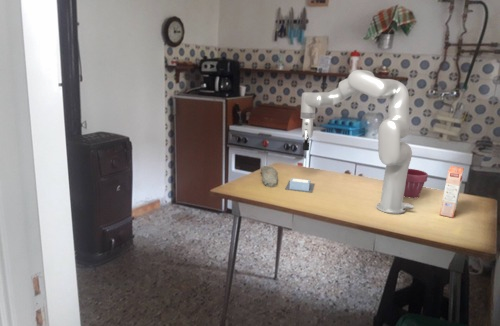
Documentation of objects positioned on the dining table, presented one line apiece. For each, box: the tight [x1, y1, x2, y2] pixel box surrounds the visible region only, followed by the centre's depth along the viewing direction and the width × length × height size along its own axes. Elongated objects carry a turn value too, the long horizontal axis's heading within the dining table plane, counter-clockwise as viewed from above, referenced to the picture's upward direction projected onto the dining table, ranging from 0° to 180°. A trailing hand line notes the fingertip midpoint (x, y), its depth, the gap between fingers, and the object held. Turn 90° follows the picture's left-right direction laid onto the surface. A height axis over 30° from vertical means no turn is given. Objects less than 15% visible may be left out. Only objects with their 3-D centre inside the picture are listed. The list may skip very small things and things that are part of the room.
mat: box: [284, 180, 316, 193], centre depth 206 cm, size 14×16×1 cm
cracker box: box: [439, 165, 465, 219], centre depth 176 cm, size 14×6×21 cm, turn 148°
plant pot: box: [404, 168, 429, 199], centre depth 200 cm, size 14×14×13 cm
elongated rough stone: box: [260, 165, 279, 188], centre depth 219 cm, size 35×5×10 cm
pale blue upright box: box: [289, 177, 311, 191], centre depth 202 cm, size 10×4×7 cm
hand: (305, 150), depth 208 cm, fingers closed
